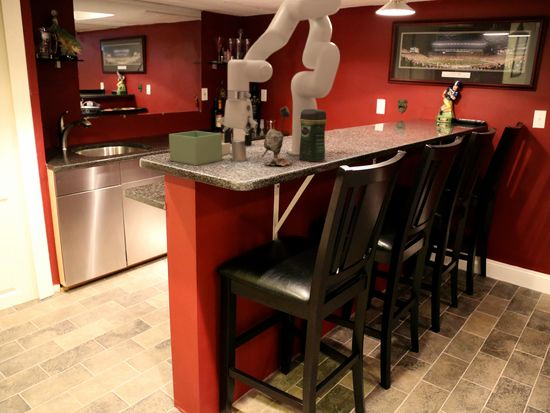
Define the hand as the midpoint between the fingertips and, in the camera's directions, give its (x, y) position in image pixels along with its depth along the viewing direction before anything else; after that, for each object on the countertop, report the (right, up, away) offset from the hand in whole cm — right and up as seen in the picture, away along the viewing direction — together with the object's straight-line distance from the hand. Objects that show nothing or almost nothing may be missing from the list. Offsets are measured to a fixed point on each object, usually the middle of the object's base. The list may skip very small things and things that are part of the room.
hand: (237, 144), depth 163 cm
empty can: (0, -5, +2) cm, 6 cm away
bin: (-15, -6, -1) cm, 16 cm away
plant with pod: (+14, -8, -6) cm, 17 cm away
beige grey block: (-7, -2, +14) cm, 16 cm away
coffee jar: (+27, -5, +4) cm, 28 cm away
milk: (-1, +4, +35) cm, 35 cm away
